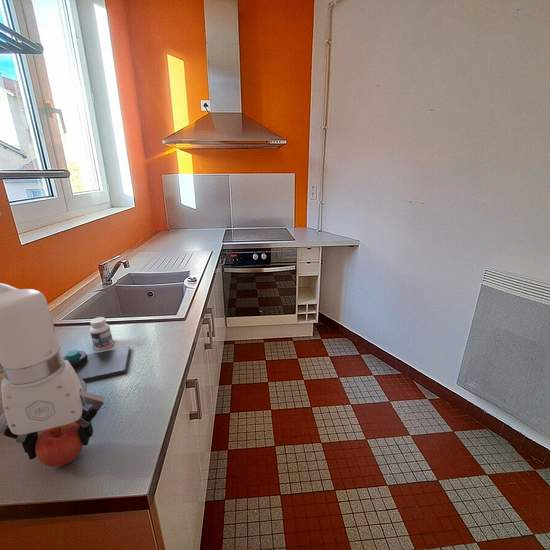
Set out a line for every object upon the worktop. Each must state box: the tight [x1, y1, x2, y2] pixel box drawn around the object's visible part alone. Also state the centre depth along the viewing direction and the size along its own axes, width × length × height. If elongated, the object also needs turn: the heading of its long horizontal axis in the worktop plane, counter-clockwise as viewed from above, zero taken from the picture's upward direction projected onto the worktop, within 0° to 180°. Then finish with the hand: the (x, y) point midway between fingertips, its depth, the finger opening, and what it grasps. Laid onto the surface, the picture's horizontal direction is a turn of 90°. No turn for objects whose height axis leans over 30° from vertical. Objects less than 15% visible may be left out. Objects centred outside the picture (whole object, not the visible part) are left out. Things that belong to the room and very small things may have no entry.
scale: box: [63, 346, 131, 384], centre depth 82 cm, size 16×12×3 cm
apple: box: [35, 422, 84, 468], centre depth 55 cm, size 7×7×8 cm
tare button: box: [65, 349, 80, 361], centre depth 82 cm, size 3×3×2 cm
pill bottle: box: [89, 316, 114, 351], centre depth 92 cm, size 5×5×9 cm
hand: (62, 445), depth 55 cm, fingers closed on apple, 7 cm apart
